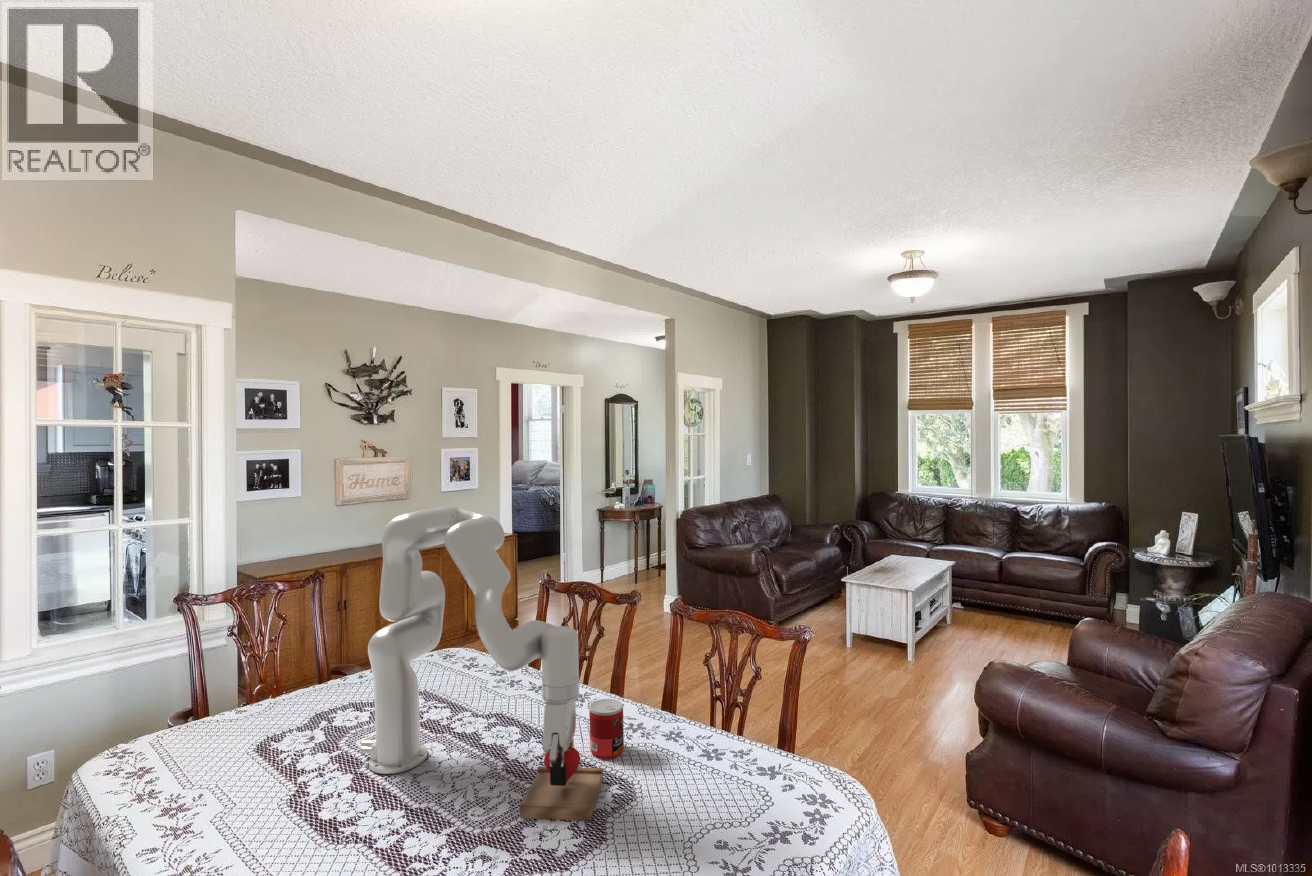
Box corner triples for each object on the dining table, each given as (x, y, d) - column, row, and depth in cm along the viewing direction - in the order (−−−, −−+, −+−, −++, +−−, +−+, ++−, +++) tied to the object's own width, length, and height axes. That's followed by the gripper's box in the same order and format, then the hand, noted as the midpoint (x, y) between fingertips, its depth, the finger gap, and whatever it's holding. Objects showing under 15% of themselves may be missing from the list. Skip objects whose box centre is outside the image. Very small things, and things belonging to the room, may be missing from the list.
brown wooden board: (520, 818, 124) (520, 805, 124) (539, 778, 138) (539, 766, 138) (590, 820, 123) (590, 807, 123) (602, 780, 137) (602, 768, 137)
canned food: (619, 761, 145) (618, 713, 144) (585, 758, 146) (584, 711, 146) (627, 745, 152) (626, 699, 152) (595, 742, 154) (594, 697, 154)
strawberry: (577, 793, 127) (576, 744, 127) (540, 792, 128) (539, 743, 128) (583, 777, 133) (582, 730, 133) (548, 776, 134) (547, 729, 134)
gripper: (553, 672, 139) (554, 753, 140) (531, 707, 122) (532, 799, 123) (586, 672, 139) (588, 754, 139) (569, 708, 122) (571, 801, 122)
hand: (562, 774), depth 131 cm, fingers closed on strawberry, 5 cm apart
